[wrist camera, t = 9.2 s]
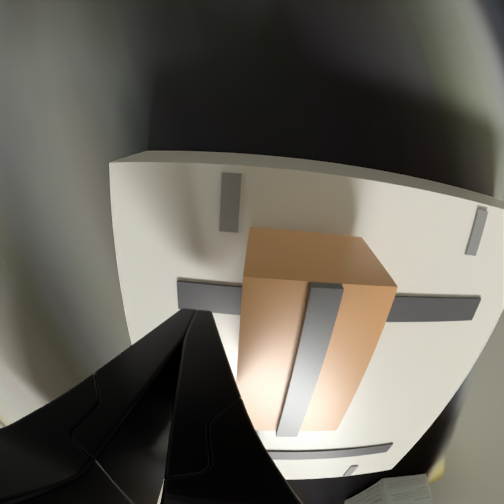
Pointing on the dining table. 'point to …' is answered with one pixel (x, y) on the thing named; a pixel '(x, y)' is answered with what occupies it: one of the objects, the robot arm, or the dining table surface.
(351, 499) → the supplement box
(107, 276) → the dining table surface
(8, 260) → the dining table surface
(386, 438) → the fader panel
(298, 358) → the fader orange
